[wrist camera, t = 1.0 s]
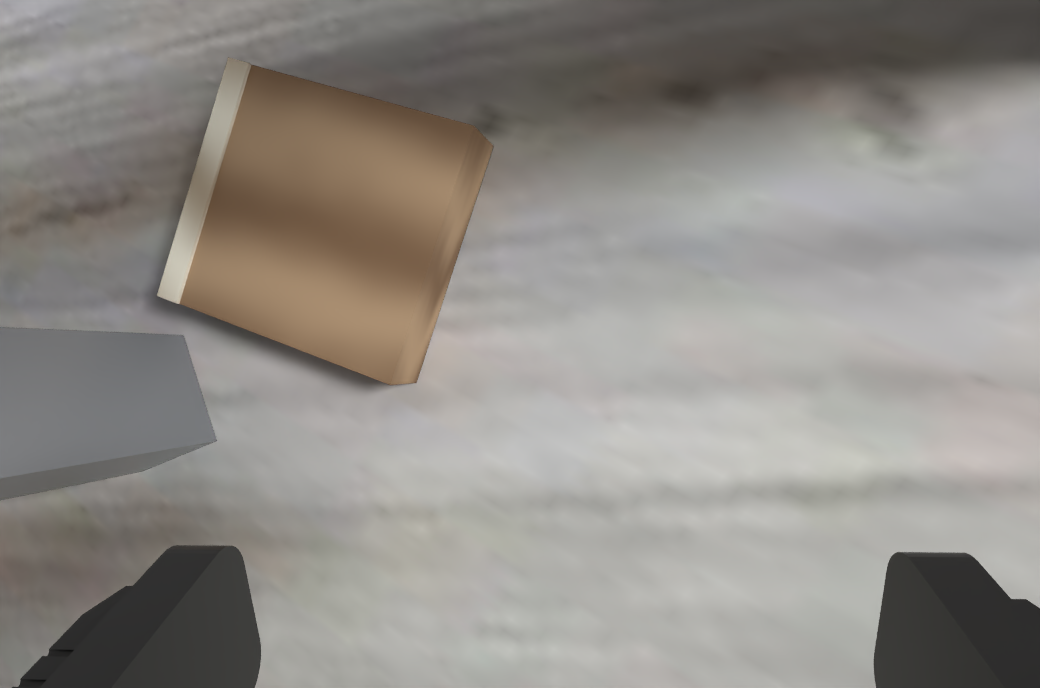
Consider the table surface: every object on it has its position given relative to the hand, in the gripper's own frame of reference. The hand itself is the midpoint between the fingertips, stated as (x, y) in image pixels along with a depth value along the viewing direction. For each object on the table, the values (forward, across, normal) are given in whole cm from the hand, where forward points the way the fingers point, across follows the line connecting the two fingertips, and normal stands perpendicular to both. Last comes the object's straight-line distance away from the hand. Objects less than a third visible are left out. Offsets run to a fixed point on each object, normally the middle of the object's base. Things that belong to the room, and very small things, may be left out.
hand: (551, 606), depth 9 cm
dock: (+27, +12, -1) cm, 30 cm away
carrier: (+26, +22, +8) cm, 35 cm away
